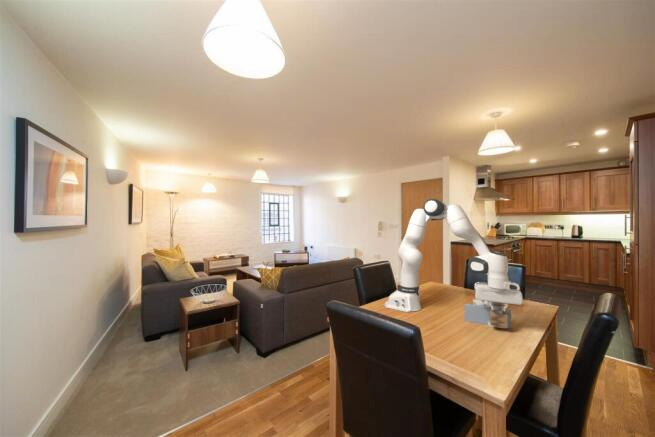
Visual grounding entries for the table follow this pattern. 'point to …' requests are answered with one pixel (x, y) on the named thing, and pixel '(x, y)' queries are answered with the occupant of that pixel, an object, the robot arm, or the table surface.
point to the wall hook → (481, 303)
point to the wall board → (482, 315)
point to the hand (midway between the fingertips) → (498, 310)
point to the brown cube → (498, 317)
